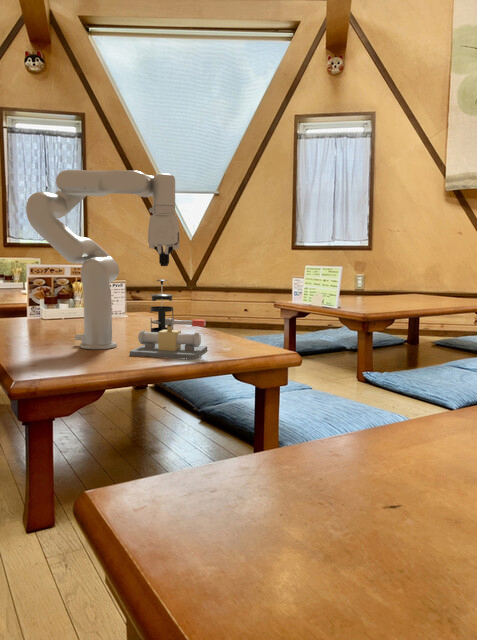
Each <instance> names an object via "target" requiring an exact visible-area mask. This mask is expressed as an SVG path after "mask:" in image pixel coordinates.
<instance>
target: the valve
mask: <svg viewBox="0 0 477 640" xmlns="http://www.w3.org/2000/svg"><path fill="white" fill-rule="evenodd" d="M166 327H167V330H162V331H159V332H158V333H157V332H151V331H147V330H145V329H141V330H140V331H139V332H138V336H137V338H138V343H139V344H140V345H141V346H138V347H135V348H134V349H132V350H129V357H130V356H131V357H143V356H150V357H149V358H160V357H167V358H166V359H177V358H185V359H184V360H195V358H196V357H197V358H199V357H200V356H202V355H203V354H204V353H207V351H208V346H207V345H201V343H202V335H201V334H200V333H199V332H194V333H193V334H191V333H182V332H181V331H182V330H180V329H173V330H172V326H168V325H166ZM201 354H202V355H201ZM199 355H200V356H199ZM198 356H199V357H198ZM186 358H187V359H186ZM197 358H196V359H197Z"/></svg>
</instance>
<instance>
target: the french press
mask: <svg viewBox="0 0 477 640" xmlns="http://www.w3.org/2000/svg"><path fill="white" fill-rule="evenodd" d="M167 281H168V280H167V279H157V280H156V282H160V285H161V287H160V288H161V292H160V293H155V294H150V297H151V301H152V302H155V301H156V302H157V300H158V301H159V300H160V301H161V304H163V301H164V300H166V301H167V300H168V301H170V302H172V301H173V297H174V295H173V294H169V293H163V285H164V282H167ZM150 312H155V313H158V314H157V315H158V317H157V319H155V320H152V319H150V332H157V333H158V332H159V331H162V330H167V326H166V325H165V319H166V312H167V313H169V312H171V313H172V314H171V316H172V317H171V319H174V307H173V306H169V305H160V306H159V305H156V306H150ZM153 324H155V325H158V326H157V327H152V325H153ZM172 330H174V325H172Z"/></svg>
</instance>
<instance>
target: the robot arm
mask: <svg viewBox="0 0 477 640" xmlns="http://www.w3.org/2000/svg"><path fill="white" fill-rule="evenodd" d="M55 183H56V186H57V189H58V190H57V191H55V192H54V193H53V192H48V191H37V192H34V193H31V195H30V196H29V197H28V199H27V201H26V207H25V210H26V211H25V213H26V219H27V220H28V223H29V224H30V226H31V227H32V228H33V230H35V232H36V233H37V234H38V235H39V236H41V238H43V240H45V241H46V242H47V243H48V244H49V245H50V246H51V247H52V248H53V249H54V250H55V251H57V252H58V253H59V255H61V256H62V257H63V258H64V259H65V261H66V262H69V263H70V264H81V267H80V281H81V284H82V285H81V286H82V297H83V298H82V300H83V327H84V329H83V331H84V332H83V333H82V334H79V333H78V334H77V333H76V334H75V335H74V340H75V341H81V343H80V344H79V347H80V348H81V349H84V350H107V349H109V350H110V349H113V348H115V347H117V346H118V345H117V342H116V341H113V315H112V314H113V312H112V309H113V308H112V303H113V302H112V290H111V285H110V283H113V282H114V281H115V280H117V278H118V277H119V274H120V267H119V264H118V263H117V261H116V260H115V259H114V258H113V257H112V256H111V255H110V254H109V252H107V251H106V250H105V249H103V247H101V246H100V245H99V244H98V243H97V242H96V241H94V240H93V239H91V238H89V237H85V236H79V235H77V234H75V232H73V231H72V230H71V229H70V228H69V227H68V226H67V225H66V224H64V222H62V221H60V220H59V219H61V218H63V217H65V216H67V215H68V214H69V213H70V212H71V211H72V210H73V209H74V208H75V207H76V206H78V205H79V204H80V202H82V201H83V200H84V199H86V196H87V197H105V196H107V195H109V194H125V195H126V194H127V195H135V196H139V197H141V198H150V197H152V207H150V208H149V209H148V212H149V213H152V215H150V217H149V221H148V222H149V223H148V231H147V243H148V244H149V245H148V248H149V249H151V250H155V251H156V253H158V256H159V259H158V260H159V262H158V263H159V264H160V265H159V266H160V267H168V266H169V264H170V255H171V253H172V252H173V251H174V250H178V249H180V246H181V245H180V237H181V236H180V226H179V225H180V224H179V220H178V216H177V215H176V178H175V176H174V175H173V174H170V173H157V174H154V175H149V174H146V173H144V172H142V171H138V170H126V169H125V170H123V169H122V170H121V169H120V170H119V169H111V170H110V169H109V170H87V169H86V170H85V169H65V170H62V171H60V172H59V173H58V174H57V176H56V178H55ZM164 247H165V248H164Z"/></svg>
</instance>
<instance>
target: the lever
mask: <svg viewBox="0 0 477 640" xmlns="http://www.w3.org/2000/svg"><path fill="white" fill-rule="evenodd" d="M206 324H207V323H206V319H197V318H196V319H192V320H187V319H186V320H185V319H184V320H181V319H175V318H173V319H172V317H171V318H165V326H172V325H173V326H175V325H182V326H183V325H185V326H186V325H187V326H191V327H201V328H202V327H203V328H204V327H206Z"/></svg>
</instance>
